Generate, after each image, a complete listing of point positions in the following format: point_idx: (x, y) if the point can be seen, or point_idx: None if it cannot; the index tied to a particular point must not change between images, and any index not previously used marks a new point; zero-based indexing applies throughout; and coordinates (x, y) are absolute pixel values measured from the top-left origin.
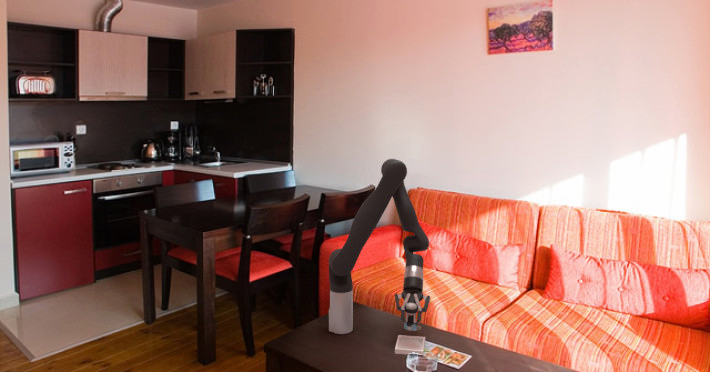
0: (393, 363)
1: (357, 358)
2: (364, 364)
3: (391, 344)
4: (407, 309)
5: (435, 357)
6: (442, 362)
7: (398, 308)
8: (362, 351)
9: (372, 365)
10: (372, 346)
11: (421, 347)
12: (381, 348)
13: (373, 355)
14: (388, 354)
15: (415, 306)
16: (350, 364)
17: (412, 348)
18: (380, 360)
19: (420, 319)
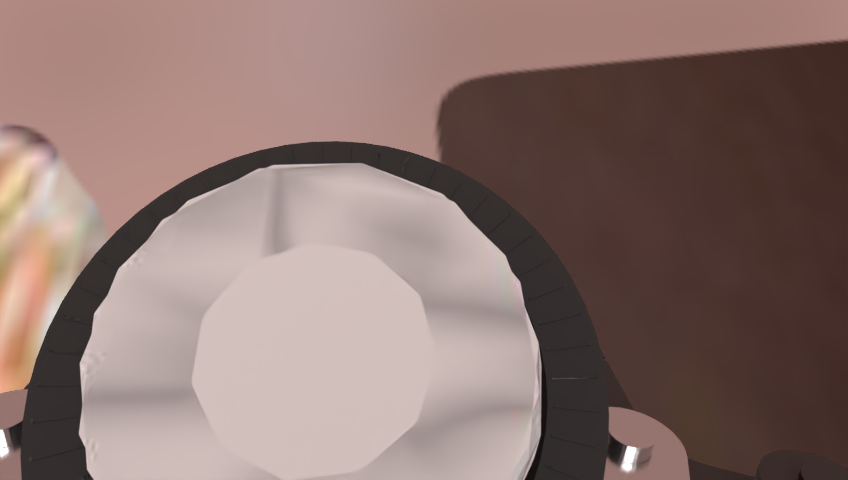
0: (496, 103)
1: (806, 149)
2: (718, 66)
3: None
4: (456, 186)
5: None
6: (51, 166)
7: (768, 474)
8: (815, 279)
9: (654, 58)
10: (762, 404)
11: None
12: (662, 371)
13: (695, 217)
14: (567, 253)
15: (138, 273)
16: (819, 56)
17: None
18: (613, 138)
19: None
